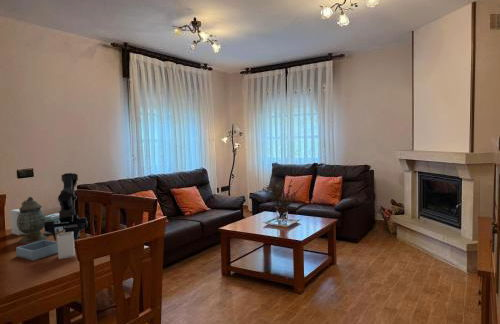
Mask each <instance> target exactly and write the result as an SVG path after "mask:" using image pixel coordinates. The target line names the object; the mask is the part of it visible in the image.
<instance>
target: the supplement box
mask: <svg viewBox="0 0 500 324" xmlns="http://www.w3.org/2000/svg"><path fill="white" fill-rule="evenodd" d="M19 209H20V208H17V209H10V223H11V234H13V235H17V236H23V235H25V233H22V232H21V231H20V230H19V229H18V227H17V218H18V216H19V214H20V210H19Z"/></svg>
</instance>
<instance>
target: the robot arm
mask: <svg viewBox="0 0 500 324" xmlns="http://www.w3.org/2000/svg"><path fill="white" fill-rule="evenodd" d="M60 178H61V182H62V183H63V189H62V190H61V191H60V194H59V195H58V197H57V201H58V202H59V206H60V210H59V212H58V213H59V221H60V223H54V221H46V222H45V223H44V227H43V229H44V228H45V231H46V232H49V233H51V234H50V235H52V237H53V241H54V242H57V241H56V240H57V233H56V232H55V227H62V226H63V231H64V233H65V232H73V231H74V240H76V239H79V238H81V236H80V233H81V232H82V231H83V230H84V229H86V228H87V227H88V219H87V217H86V216H84V217H79V216H78V213H77V212H76V208H75V207H76V206H75V205H76V204H75V203H76V202H75V201H76V200H77V198H78V197H77V195H76V193H75V188H76V186H77V184H78V181H79V175H78V173H72V172H67V173H63V174H61V177H60ZM64 229H65V230H64Z"/></svg>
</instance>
